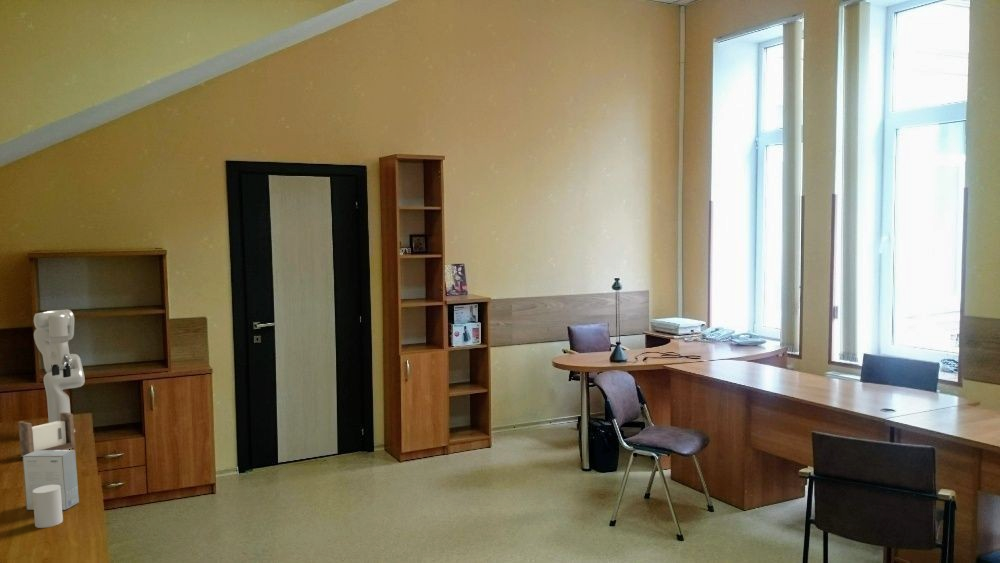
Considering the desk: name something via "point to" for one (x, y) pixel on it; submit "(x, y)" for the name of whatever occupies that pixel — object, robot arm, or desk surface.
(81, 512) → the desk surface
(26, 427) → the door frame
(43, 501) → the white cylinder
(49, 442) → the door panel
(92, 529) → the desk surface
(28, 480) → the hard drive box
